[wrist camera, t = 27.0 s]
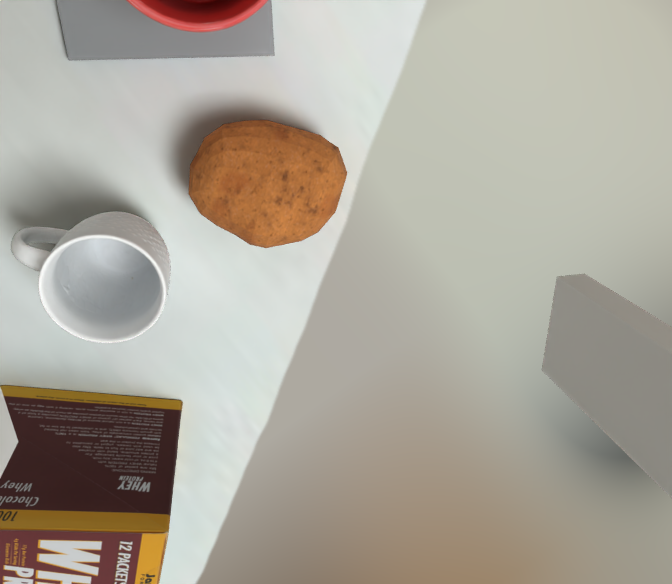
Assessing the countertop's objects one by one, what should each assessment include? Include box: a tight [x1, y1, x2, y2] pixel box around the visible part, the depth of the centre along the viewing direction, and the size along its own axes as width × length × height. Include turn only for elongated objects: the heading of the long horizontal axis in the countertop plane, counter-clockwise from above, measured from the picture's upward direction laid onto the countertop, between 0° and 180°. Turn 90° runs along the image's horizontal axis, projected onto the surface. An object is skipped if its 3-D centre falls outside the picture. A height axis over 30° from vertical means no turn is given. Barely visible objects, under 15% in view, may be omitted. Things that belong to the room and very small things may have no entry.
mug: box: [11, 211, 171, 343], centre depth 39 cm, size 11×8×9 cm
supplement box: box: [0, 385, 183, 584], centre depth 43 cm, size 10×15×16 cm
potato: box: [189, 120, 347, 248], centre depth 40 cm, size 9×11×8 cm
